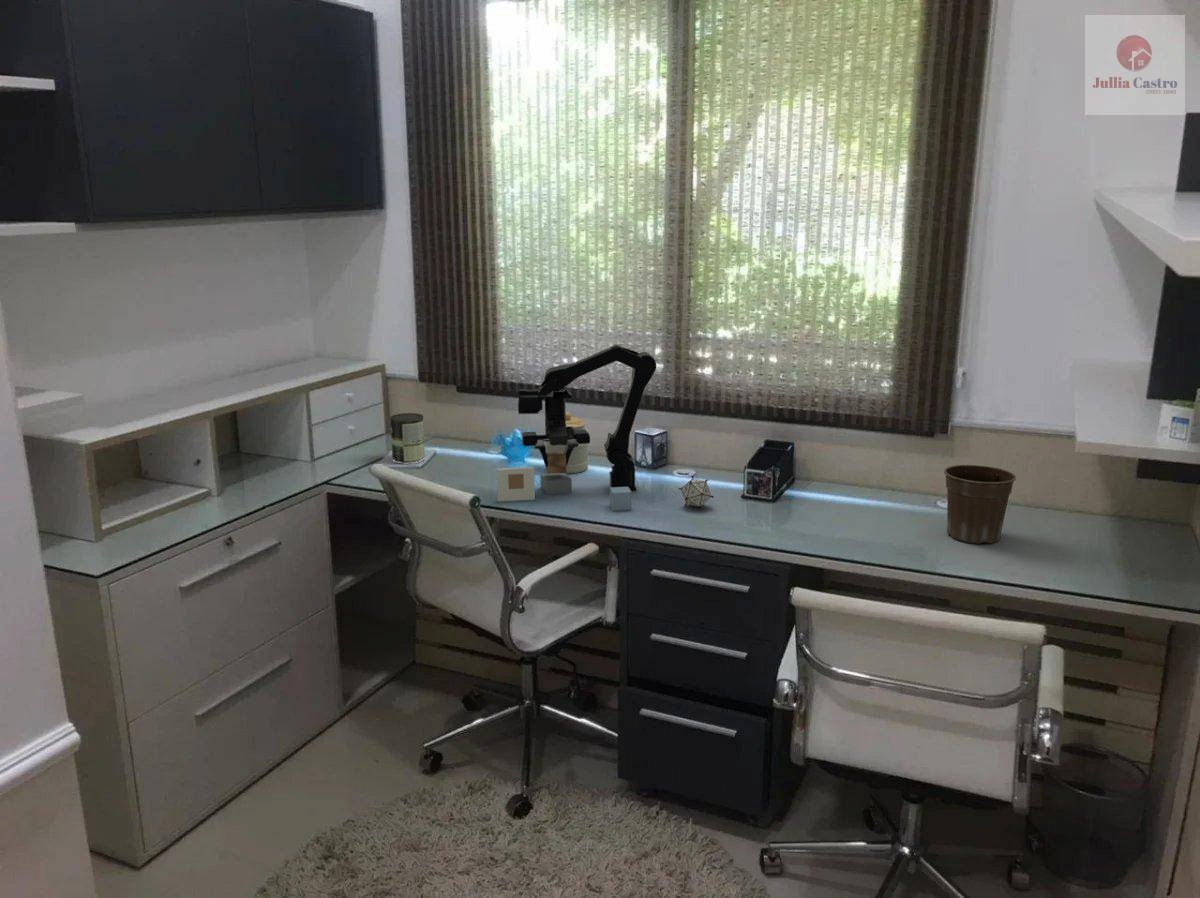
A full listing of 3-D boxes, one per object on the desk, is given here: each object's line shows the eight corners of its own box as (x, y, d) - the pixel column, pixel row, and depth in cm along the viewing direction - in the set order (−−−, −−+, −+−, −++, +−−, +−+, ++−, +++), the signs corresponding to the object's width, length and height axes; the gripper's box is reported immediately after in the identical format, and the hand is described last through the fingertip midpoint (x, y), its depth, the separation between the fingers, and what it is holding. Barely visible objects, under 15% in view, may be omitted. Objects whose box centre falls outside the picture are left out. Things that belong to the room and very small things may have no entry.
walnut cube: (563, 468, 276) (563, 451, 275) (566, 472, 271) (565, 455, 270) (546, 468, 275) (546, 452, 274) (548, 473, 270) (548, 456, 269)
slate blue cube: (627, 504, 262) (627, 486, 260) (631, 510, 257) (631, 492, 256) (609, 505, 261) (609, 487, 260) (612, 511, 256) (613, 493, 255)
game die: (702, 519, 261) (726, 492, 257) (684, 515, 254) (708, 488, 251) (684, 496, 266) (707, 470, 262) (666, 492, 259) (689, 465, 256)
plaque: (534, 498, 266) (533, 467, 264) (534, 500, 265) (534, 468, 263) (497, 500, 265) (496, 468, 262) (498, 501, 263) (497, 470, 261)
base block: (564, 485, 279) (564, 472, 278) (571, 492, 273) (571, 478, 272) (540, 488, 277) (540, 474, 276) (547, 495, 270) (547, 481, 269)
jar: (538, 471, 292) (537, 414, 288) (556, 461, 304) (556, 406, 299) (578, 476, 287) (577, 418, 283) (595, 465, 299) (594, 409, 294)
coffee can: (387, 464, 301) (385, 419, 297) (397, 455, 311) (395, 412, 307) (420, 464, 300) (418, 420, 296) (429, 456, 310) (427, 413, 306)
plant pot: (945, 521, 248) (951, 460, 243) (1013, 532, 240) (1020, 469, 236) (931, 540, 234) (937, 476, 230) (1003, 552, 226) (1010, 486, 222)
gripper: (524, 421, 260) (525, 476, 264) (592, 418, 263) (593, 473, 267) (520, 412, 270) (522, 466, 274) (586, 409, 273) (587, 462, 277)
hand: (556, 467), depth 273 cm, fingers closed on walnut cube, 5 cm apart
